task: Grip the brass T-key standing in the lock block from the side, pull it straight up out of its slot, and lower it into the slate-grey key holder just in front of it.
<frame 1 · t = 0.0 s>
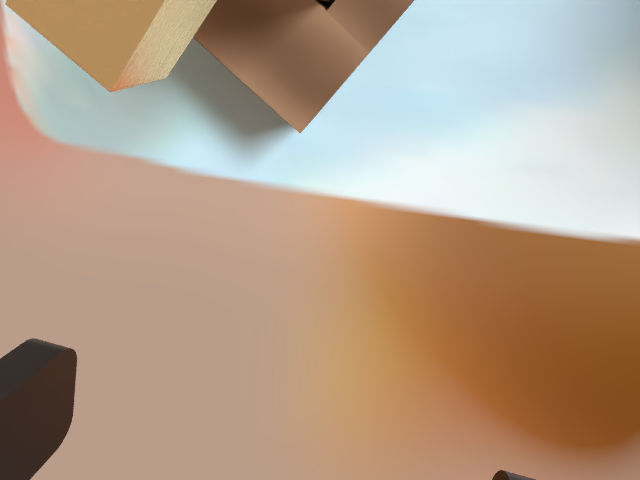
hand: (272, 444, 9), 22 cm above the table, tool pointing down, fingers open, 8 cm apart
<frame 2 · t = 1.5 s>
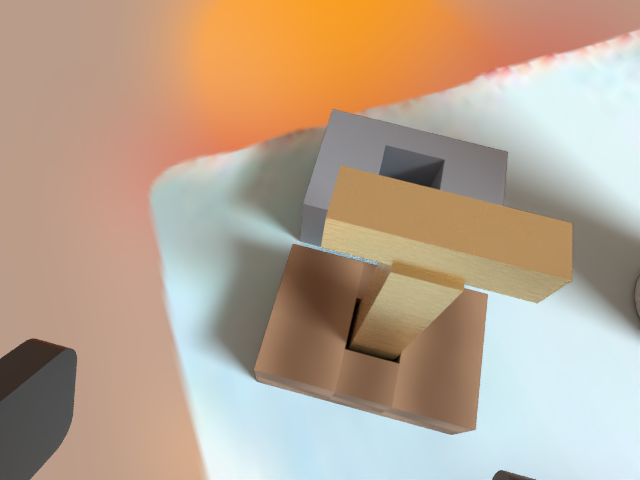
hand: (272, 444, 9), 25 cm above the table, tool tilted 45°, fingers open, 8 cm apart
lock block: (366, 346, 35), on the table
key holder: (393, 216, 40), on the table
t key: (368, 342, 34), point 1 cm above the table, touching lock block
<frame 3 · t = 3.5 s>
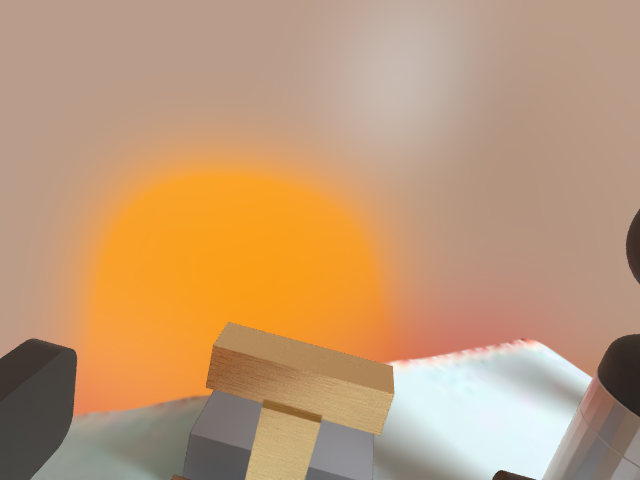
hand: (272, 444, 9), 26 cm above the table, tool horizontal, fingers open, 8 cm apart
key holder: (277, 473, 41), on the table
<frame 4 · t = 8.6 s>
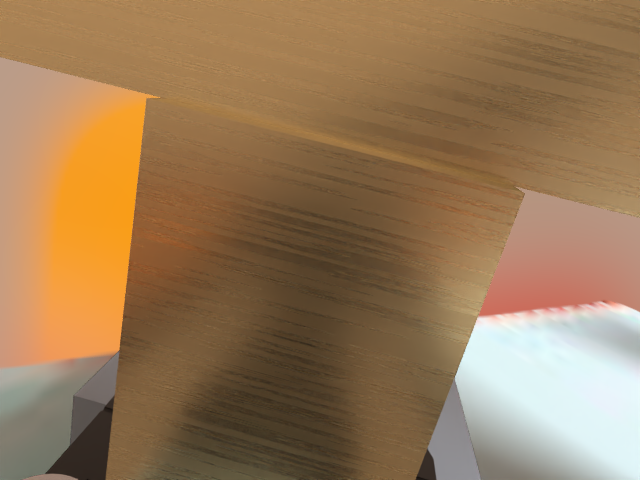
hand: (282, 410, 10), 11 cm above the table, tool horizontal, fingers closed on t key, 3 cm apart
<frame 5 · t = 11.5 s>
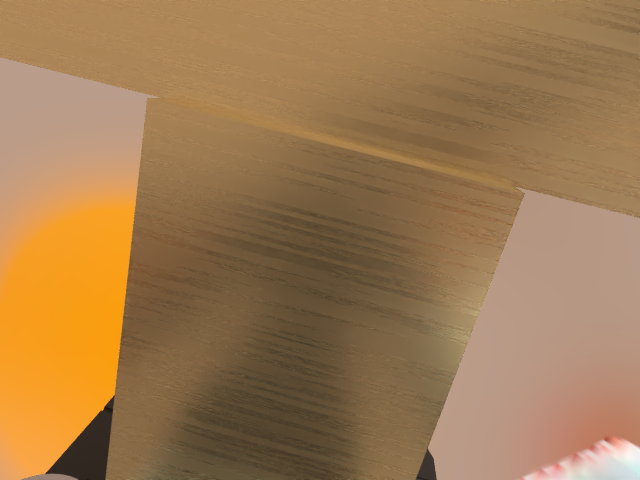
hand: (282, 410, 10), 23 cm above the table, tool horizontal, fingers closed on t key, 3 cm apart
when the fingers open (12 cm above the table, at t = 14.3 s): t key drops 1 cm, resting on key holder.
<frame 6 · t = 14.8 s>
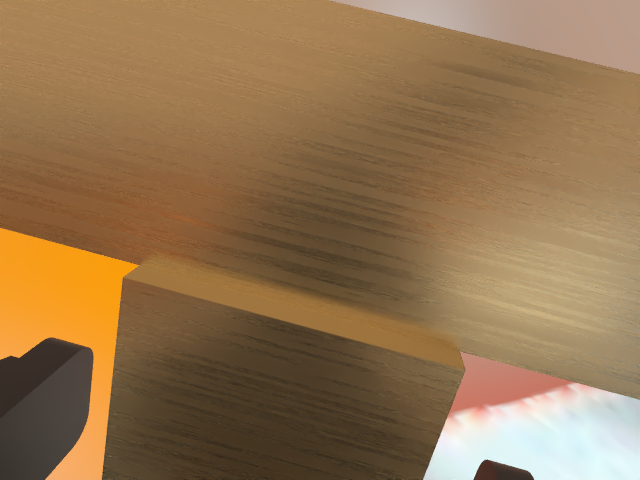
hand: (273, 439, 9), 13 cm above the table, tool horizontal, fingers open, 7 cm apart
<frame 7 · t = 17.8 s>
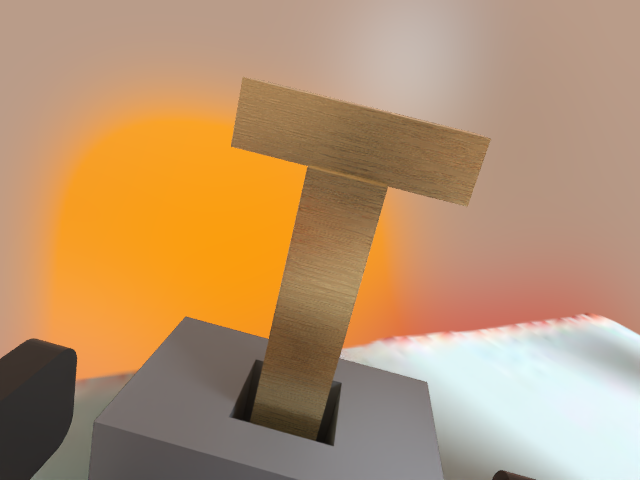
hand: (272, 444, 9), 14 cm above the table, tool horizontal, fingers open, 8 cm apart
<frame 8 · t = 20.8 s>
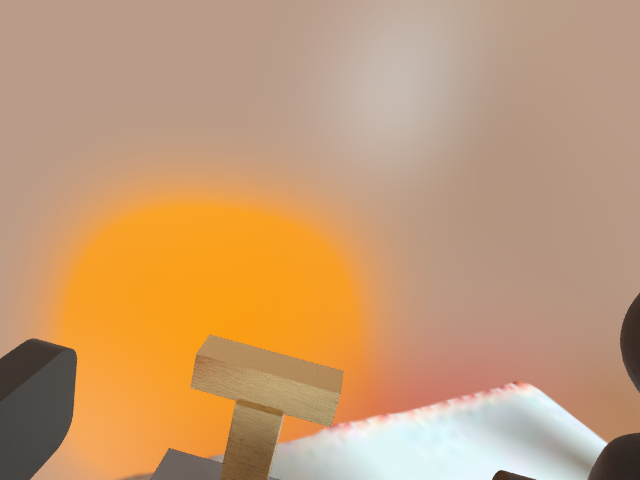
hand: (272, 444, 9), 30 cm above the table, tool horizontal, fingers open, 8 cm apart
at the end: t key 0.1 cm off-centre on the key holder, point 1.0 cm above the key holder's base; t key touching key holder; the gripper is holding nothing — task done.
